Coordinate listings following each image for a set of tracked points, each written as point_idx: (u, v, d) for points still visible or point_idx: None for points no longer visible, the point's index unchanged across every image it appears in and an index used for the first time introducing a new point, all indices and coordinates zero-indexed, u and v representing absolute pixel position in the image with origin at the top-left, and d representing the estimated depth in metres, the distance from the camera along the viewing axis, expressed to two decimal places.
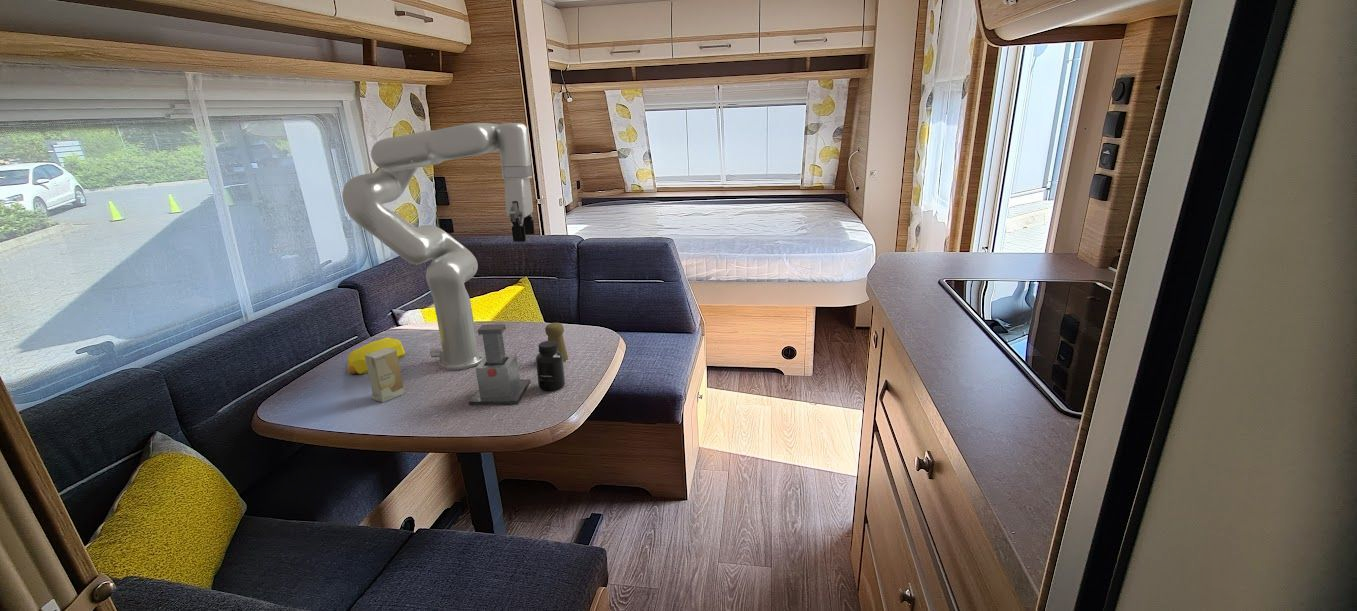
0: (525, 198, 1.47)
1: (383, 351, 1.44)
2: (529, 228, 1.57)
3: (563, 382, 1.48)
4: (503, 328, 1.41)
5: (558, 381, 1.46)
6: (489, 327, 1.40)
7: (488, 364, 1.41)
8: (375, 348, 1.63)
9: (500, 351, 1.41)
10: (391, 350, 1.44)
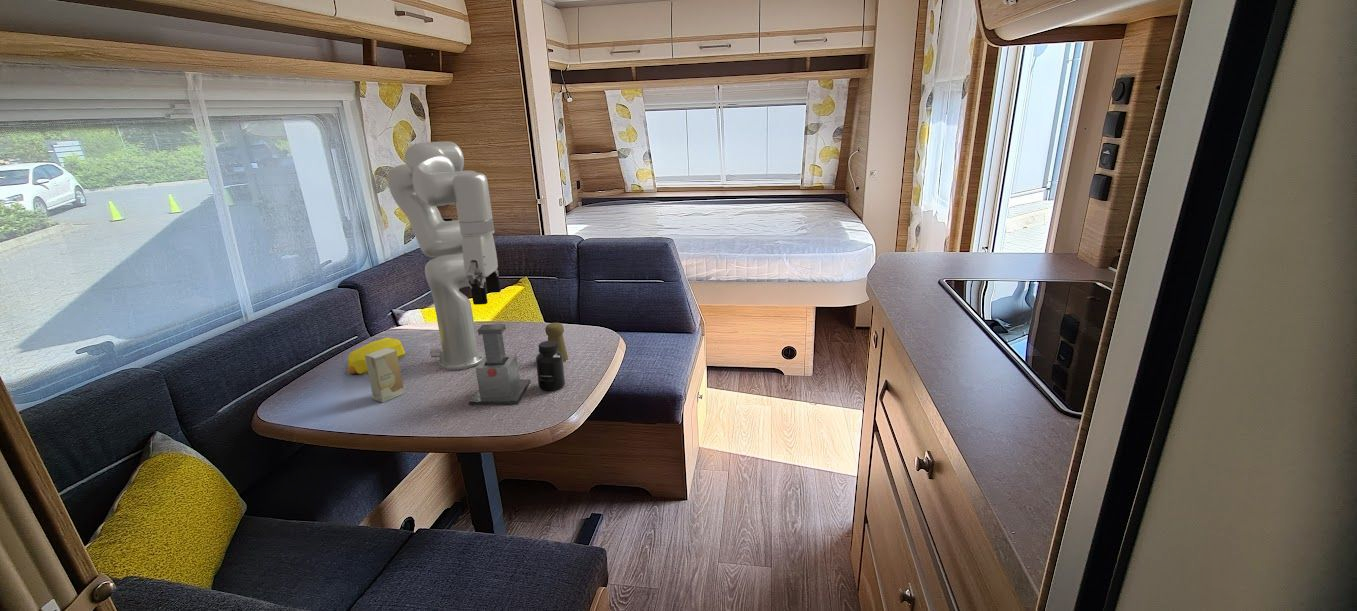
0: (486, 256, 1.31)
1: (383, 351, 1.44)
2: (494, 286, 1.41)
3: (563, 382, 1.48)
4: (503, 328, 1.41)
5: (558, 381, 1.46)
6: (489, 327, 1.40)
7: (488, 364, 1.41)
8: (375, 348, 1.63)
9: (500, 351, 1.41)
10: (391, 350, 1.44)
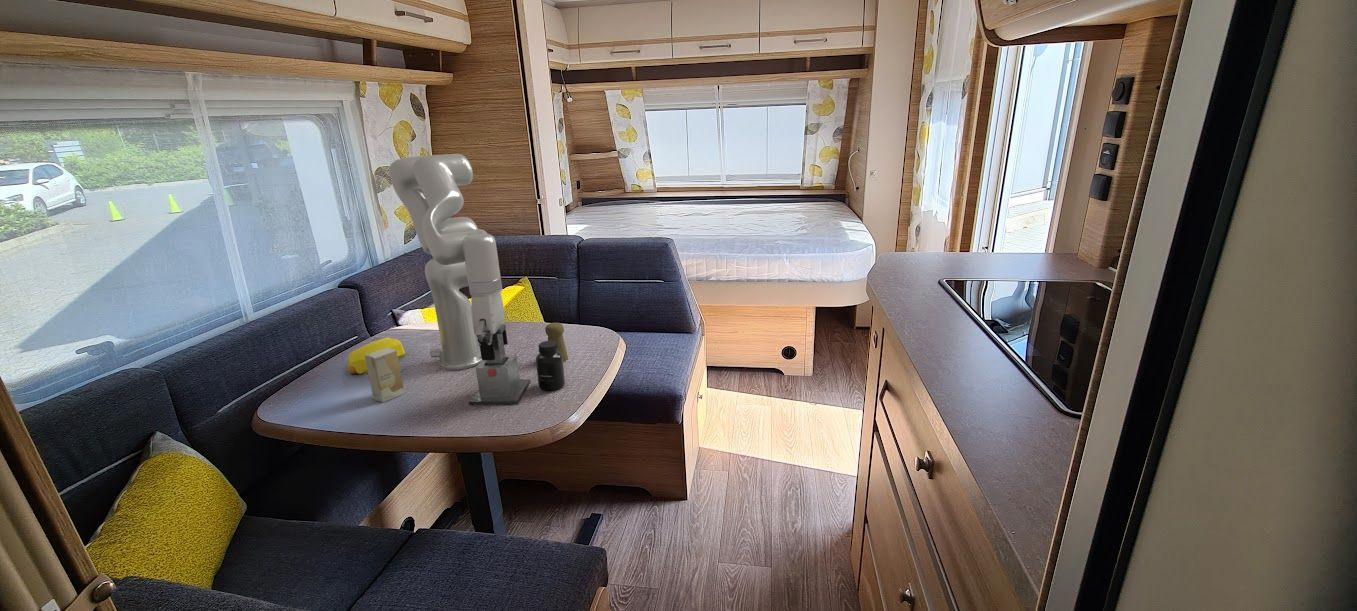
0: (494, 314, 1.36)
1: (383, 351, 1.44)
2: None
3: (563, 382, 1.48)
4: (503, 328, 1.41)
5: (558, 381, 1.46)
6: None
7: (488, 364, 1.41)
8: (375, 348, 1.63)
9: (500, 351, 1.41)
10: (391, 350, 1.44)
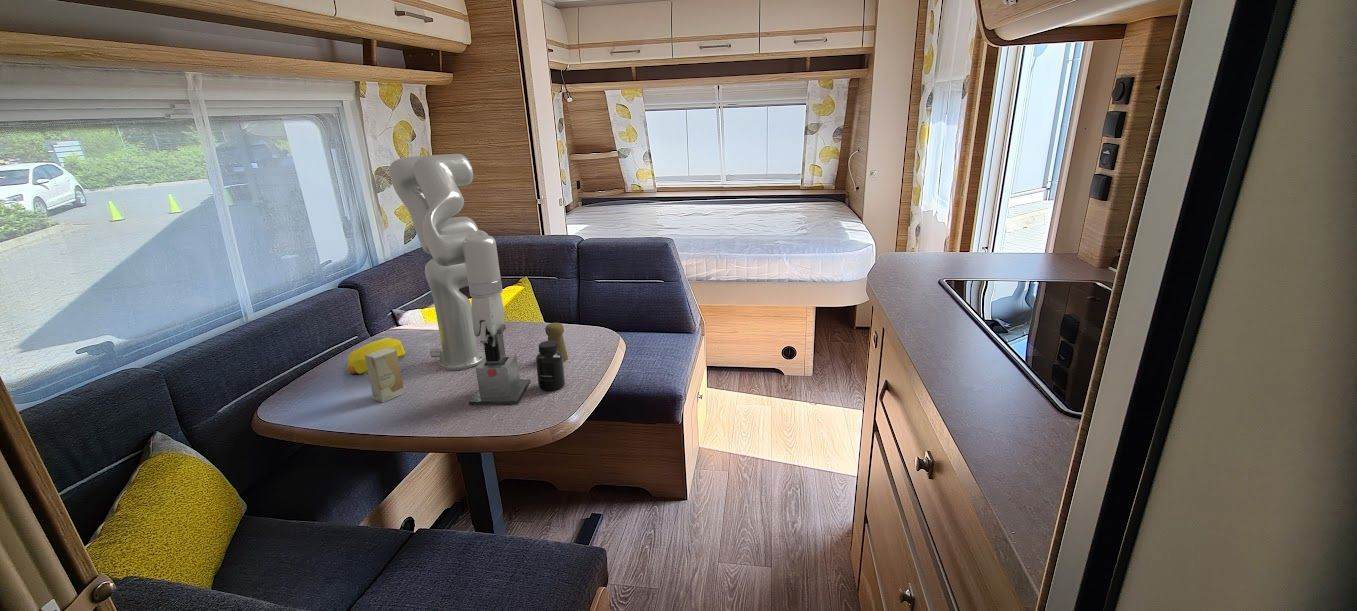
0: (494, 315, 1.36)
1: (383, 351, 1.44)
2: None
3: (563, 382, 1.48)
4: (503, 328, 1.41)
5: (558, 381, 1.46)
6: None
7: (488, 364, 1.41)
8: (375, 348, 1.63)
9: (500, 351, 1.41)
10: (391, 350, 1.44)
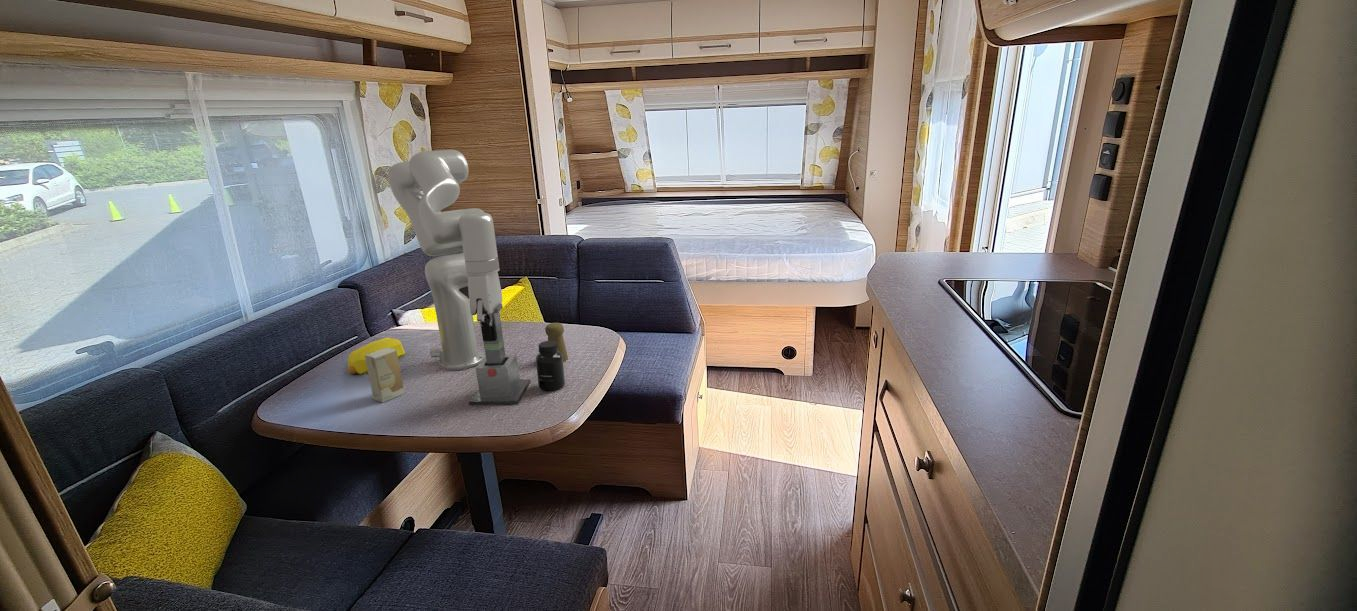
0: (491, 294, 1.34)
1: (383, 351, 1.44)
2: None
3: (563, 382, 1.48)
4: (500, 307, 1.39)
5: (558, 381, 1.46)
6: None
7: (485, 344, 1.40)
8: (375, 348, 1.63)
9: (497, 330, 1.40)
10: (391, 350, 1.44)
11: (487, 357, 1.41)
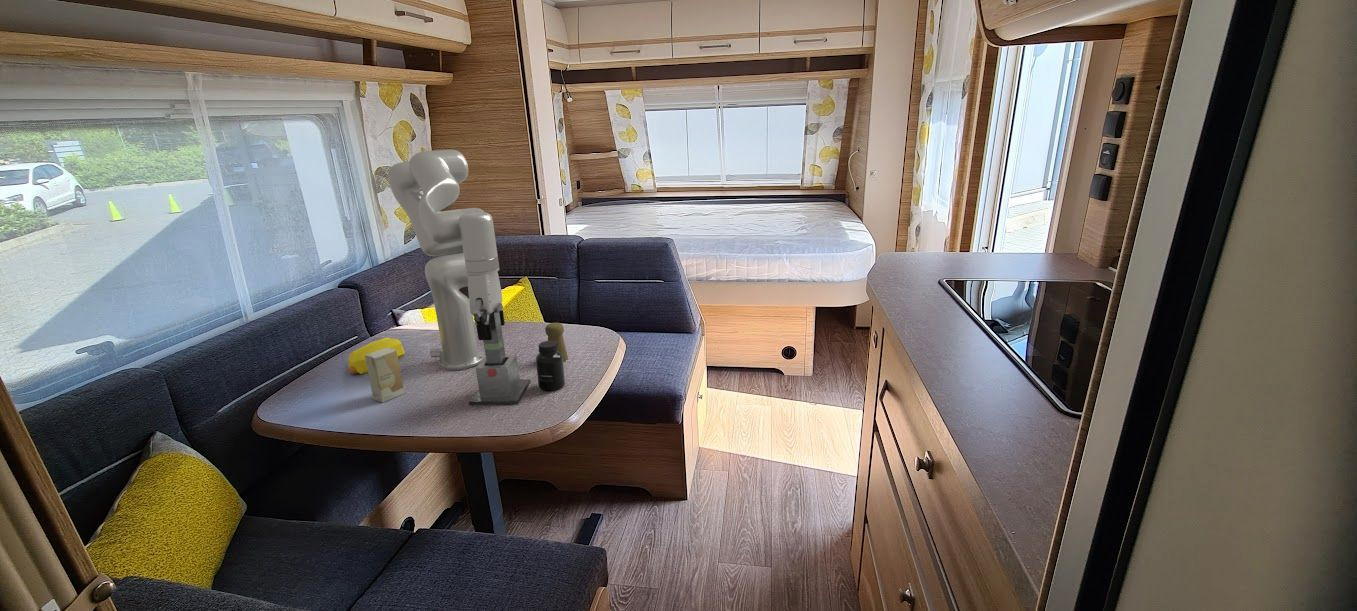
0: (491, 293, 1.34)
1: (383, 351, 1.44)
2: None
3: (563, 382, 1.48)
4: (500, 307, 1.39)
5: (558, 381, 1.46)
6: None
7: (485, 344, 1.40)
8: (376, 348, 1.63)
9: (497, 330, 1.39)
10: (391, 350, 1.44)
11: (487, 357, 1.41)
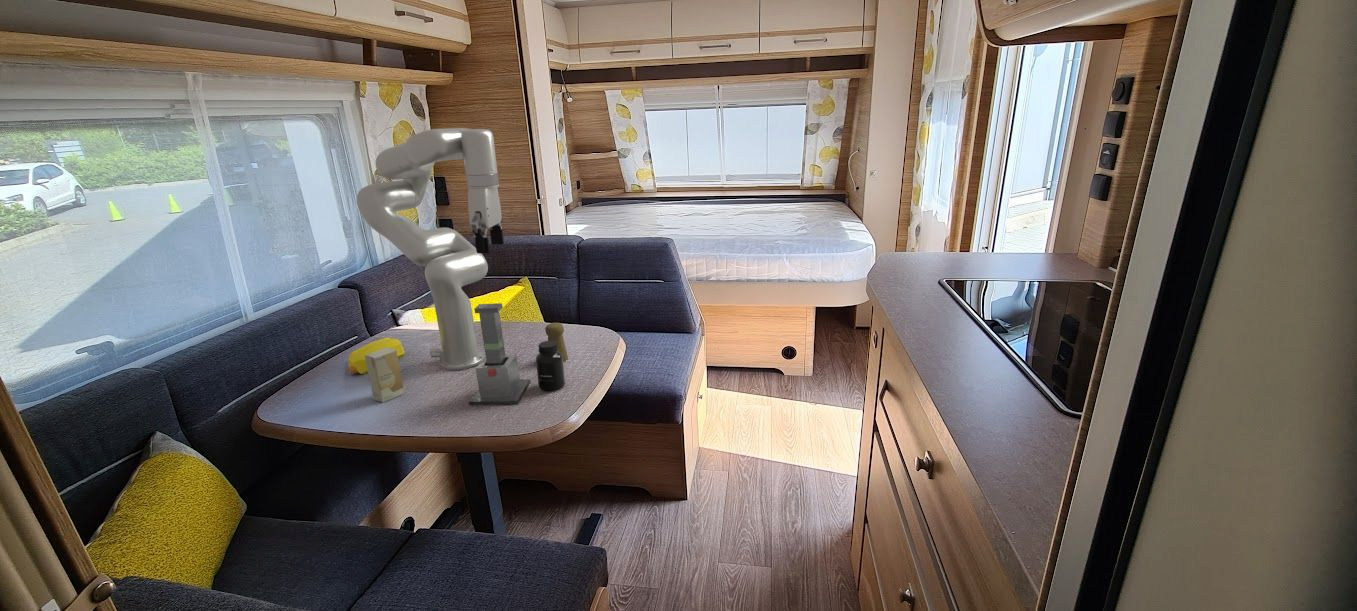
0: (489, 208, 1.40)
1: (383, 351, 1.44)
2: (498, 238, 1.51)
3: (563, 382, 1.48)
4: (500, 307, 1.39)
5: (558, 381, 1.46)
6: (486, 306, 1.38)
7: (485, 344, 1.40)
8: (376, 348, 1.63)
9: (497, 330, 1.39)
10: (391, 350, 1.44)
11: (487, 357, 1.41)
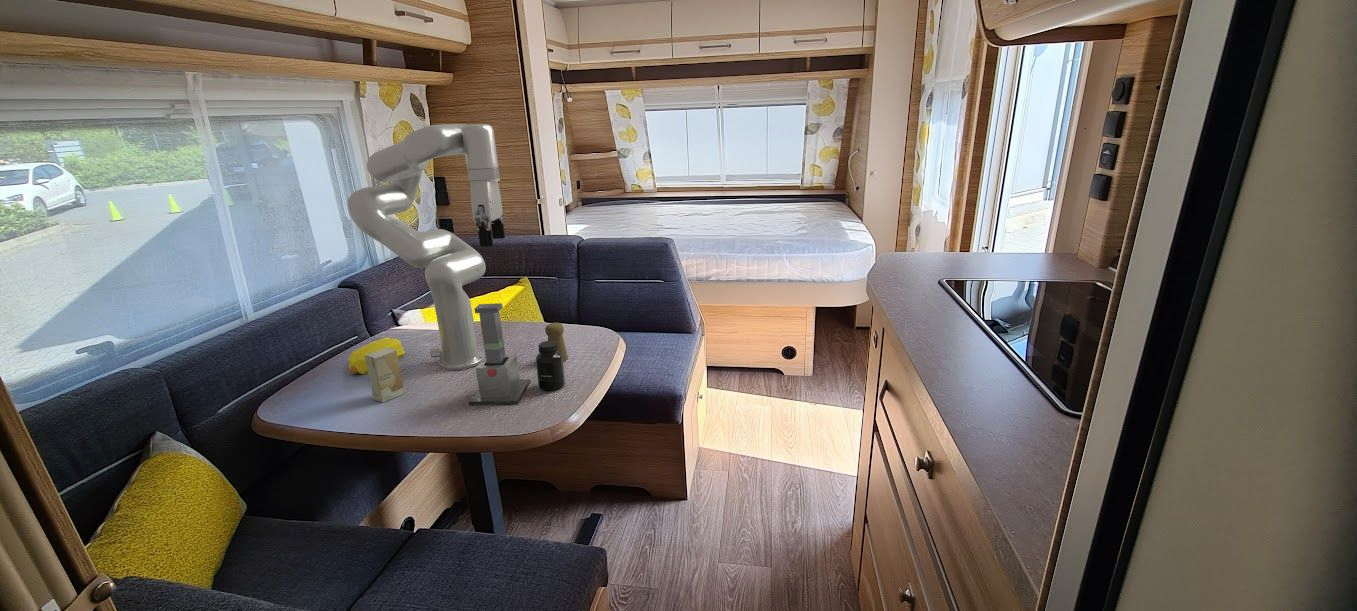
0: (492, 201, 1.42)
1: (383, 351, 1.44)
2: (499, 232, 1.53)
3: (563, 382, 1.48)
4: (500, 307, 1.39)
5: (558, 381, 1.46)
6: (486, 306, 1.38)
7: (485, 344, 1.40)
8: (376, 348, 1.63)
9: (497, 330, 1.39)
10: (391, 350, 1.44)
11: (487, 357, 1.41)
